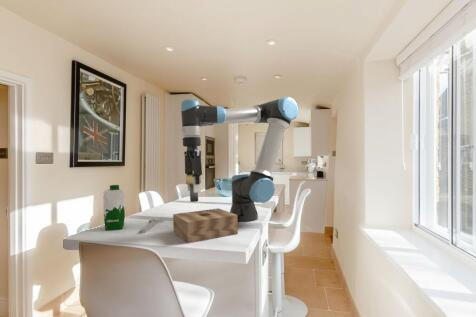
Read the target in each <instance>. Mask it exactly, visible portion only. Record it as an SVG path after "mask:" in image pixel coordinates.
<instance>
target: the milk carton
mask: <svg viewBox="0 0 476 317" xmlns="http://www.w3.org/2000/svg"><path fill="white" fill-rule="evenodd" d="M102 199H103V219H104V230H105V231H118V230H119V231H120V230H123V228H124V226H125V220H126V219H125V218H126V212H125V211H126V210H125V209H126V207H125V203H126V202H125V201H126V200H125V189H124V188H120V185H119V184H112V185H109V189H106V190H104V191H103V198H102Z"/></svg>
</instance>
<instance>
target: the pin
mask: <svg viewBox="0 0 476 317" xmlns="http://www.w3.org/2000/svg"><path fill="white" fill-rule="evenodd" d="M192 176H193V175H185V184H186V185H188V184H190V191H189V200H190V201H189V202H191V203H195V202H196V203H197V202H199V192H196V193H194V188H193V177H192ZM201 176H202V175H200V184H202V177H201Z"/></svg>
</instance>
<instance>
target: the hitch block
mask: <svg viewBox="0 0 476 317" xmlns="http://www.w3.org/2000/svg"><path fill="white" fill-rule="evenodd" d="M172 218H173V220H172V221H173V223H172V224H173V234H175V235H176V236H178V237H179V238H180V239H182V240H183V241H184V242H186V243H187V244H190V243H191V244H192V243H197V242H203V241H207V240H212V239H217V238H223V237H230V236H235V235H238V234H239V233H238V232H239V230H238V228H239V227H238V226H239V224H238V222H239V221H238V220H237V215H236V214H233V213H230V211H228V210H223V209H221V208H211V209H203V210H194V211H188V212H187V211H186V212H181V213H174V214H172Z"/></svg>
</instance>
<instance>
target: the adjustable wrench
mask: <svg viewBox="0 0 476 317" xmlns="http://www.w3.org/2000/svg"><path fill="white" fill-rule="evenodd" d="M164 220H165V219H164V217H160V218H157V219H156V218H154V217H153V218H151V219H149V220H148V221H149V223H148V224H146V225H145V226H144V227H142V228H141V229H139V231H138V232H139V234H146V233H147V232H149V231H150V230H151V229H152V228H153V227H154V226H156V225H157V224H160V223H162V222H164Z"/></svg>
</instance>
